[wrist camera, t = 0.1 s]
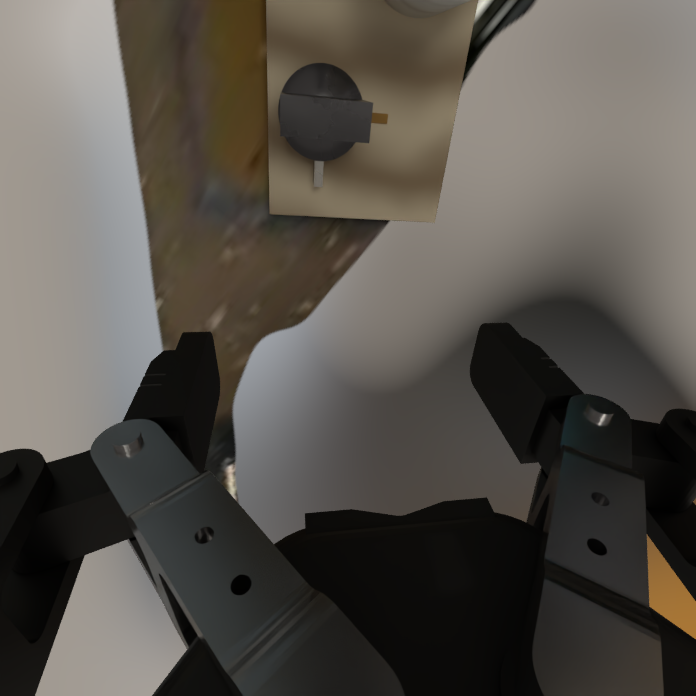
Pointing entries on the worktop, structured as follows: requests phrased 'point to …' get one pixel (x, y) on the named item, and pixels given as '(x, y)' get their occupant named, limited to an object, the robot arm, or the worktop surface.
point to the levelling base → (383, 91)
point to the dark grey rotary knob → (323, 114)
